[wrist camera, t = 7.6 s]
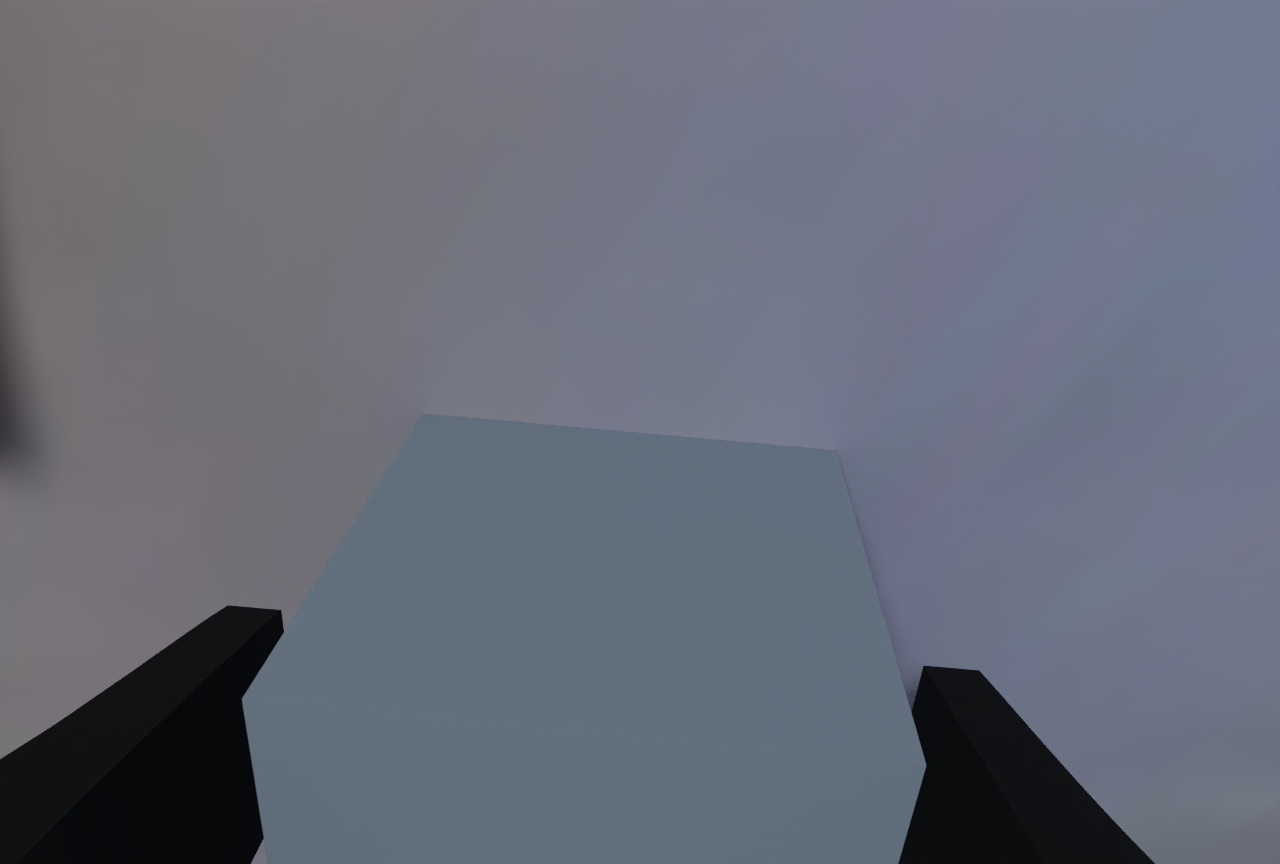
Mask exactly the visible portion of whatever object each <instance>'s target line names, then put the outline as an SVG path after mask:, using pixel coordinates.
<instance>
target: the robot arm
mask: <svg viewBox="0 0 1280 864" xmlns="http://www.w3.org/2000/svg"><path fill="white" fill-rule="evenodd" d="M283 633H284V629H283V621H282V613H281V610H274V609H262V608H251V607H239V606H226V607H225V608H223V609H222V610H220V611H219V612H217V613H215V614H214V615H212V616H211V617H209V618H208V619H206V620H205V621H203V622H202V623H200V624H199V625H198V626H196V627H195V628H193V629H192V630H190V631H189V632H187V633H186V634H185V635H183V636H182V637H180V638H179V639H177V640H176V641H175V642H173V643H172V644H170V645H169V646H168V647H166V648H165V649H163V650H162V651H160V652H159V653H158V654H156V655H155V656H153V657H152V658H151V659H149V660H148V661H146V662H145V663H143V664H142V665H141V666H139V667H138V668H136V669H135V670H133V671H132V672H131V673H129V674H128V675H126V676H125V677H123V678H122V679H121V680H119V681H118V682H116V683H115V684H113V685H112V686H110V687H109V688H107V689H106V690H105V691H103V692H102V693H100V694H99V695H97V696H96V697H94V698H93V699H91V700H90V701H89V702H87V703H86V704H84V705H83V706H81V707H80V708H78V709H77V710H75V711H74V712H73V713H71V714H70V715H68V716H67V717H65V718H64V719H62V720H61V721H59V722H58V723H56V724H55V725H53V726H52V727H50V728H49V729H47V730H46V731H44V732H43V733H41V734H39V735H38V736H36V737H35V738H33V739H32V740H30V741H28V742H27V743H25V744H24V745H22V746H21V747H19V748H17V749H16V750H14V751H13V752H11V753H10V754H8V755H6V756H5V757H3V758H2V759H0V864H251V862H252V860H253V858H254V856H255V854H256V852H257V850H258V848H259V846H260V844H261V842H262V840H263V838H264V836H263V830H262V823H261V817H260V811H259V805H258V798H257V792H256V786H255V779H254V773H253V767H252V760H251V754H250V748H249V741H248V735H247V729H246V722H245V716H244V710H243V704H242V698H243V696H244V695H245V693H246V692H247V690H248V688H249V687H250V685H251V684H252V682H253V681H254V679H255V677H256V676H257V674H258V673H259V671H260V670H261V668H262V666H263V665H264V663H265V662H266V660H267V658H268V657H269V655H270V654H271V652H272V651H273V649H274V647H275V646H276V644H277V643H278V641H279V639H280V638H281V636H282V635H283ZM912 717H913V720H914V724H915V727H916V731H917V734H918V738H919V741H920V745H921V748H922V752H923V755H924V759H925V762H926V769H925V772H924V776H923V779H922V783H921V786H920V790H919V793H918V797H917V800H916V804H915V807H914V811H913V814H912V818H911V821H910V825H909V828H908V832H907V835H906V838H905V842H904V845H903V849H902V852H901V856H900V859H899V863H898V864H1155V863H1154V862H1153V861H1152V860H1151V859H1150V858H1149V857H1148V856H1147V855H1146V854H1145V853H1144V852H1143V851H1142V850H1141V849H1140V848H1139V847H1138V846H1137V845H1136V844H1135V843H1134V842H1133V841H1132V840H1131V839H1130V838H1129V837H1128V835H1127V834H1126V833H1125V832H1124V831H1123V830H1122V829H1121V828H1120V827H1119V826H1118V825H1117V824H1116V823H1115V822H1114V821H1113V820H1112V819H1111V818H1110V816H1109V815H1108V814H1107V813H1106V812H1105V811H1104V810H1103V809H1102V808H1101V807H1100V806H1099V805H1098V804H1097V802H1096V801H1095V800H1094V799H1093V798H1092V797H1091V796H1090V795H1089V794H1088V793H1087V792H1086V791H1085V789H1084V788H1083V787H1082V786H1081V785H1080V784H1079V783H1078V782H1077V781H1076V780H1075V778H1074V777H1073V776H1072V775H1071V774H1070V773H1069V772H1068V771H1067V770H1066V768H1065V767H1064V766H1063V765H1062V764H1061V763H1060V762H1059V761H1058V759H1057V758H1056V757H1055V756H1054V755H1053V754H1052V753H1051V752H1050V750H1049V749H1048V748H1047V747H1046V746H1045V745H1044V744H1043V742H1042V741H1041V740H1040V739H1039V738H1038V737H1037V736H1036V735H1035V733H1034V732H1033V731H1032V730H1031V729H1030V728H1029V727H1028V725H1027V724H1026V723H1025V722H1024V721H1023V720H1022V719H1021V717H1020V716H1019V715H1018V714H1017V713H1016V712H1015V710H1014V709H1013V708H1012V707H1011V706H1010V705H1009V704H1008V702H1007V701H1006V700H1005V699H1004V698H1003V697H1002V696H1001V694H1000V693H999V692H998V691H997V690H996V689H995V688H994V687H993V685H992V684H991V683H990V682H989V681H988V680H987V679H986V678H985V677H984V675H983V674H982V673H981V672H980V671H978V670H967V669H955V668H944V667H932V666H923V670H922V674H921V678H920V682H919V686H918V690H917V694H916V698H915V701H914V705H913V709H912Z"/></svg>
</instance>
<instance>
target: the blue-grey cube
mask: <svg viewBox="0 0 1280 864" xmlns="http://www.w3.org/2000/svg"><path fill="white" fill-rule="evenodd" d="M242 704H243V710H244V716H245V722H246V729H247V735H248V741H249V748H250V754H251V760H252V767H253V773H254V779H255V786H256V792H257V798H258V805H259V811H260V817H261V823H262V830H263V836H264V842H265V849H266V855H267V861H268V864H898V863H899V859H900V856H901V852H902V849H903V845H904V842H905V838H906V835H907V832H908V828H909V825H910V821H911V818H912V814H913V811H914V807H915V804H916V800H917V797H918V793H919V790H920V786H921V783H922V779H923V776H924V772H925V769H926V762H925V759H924V755H923V752H922V748H921V745H920V741H919V738H918V734H917V731H916V727H915V724H914V720H913V717H912V713H911V710H910V706H909V703H908V699H907V696H906V692H905V689H904V685H903V682H902V678H901V675H900V671H899V668H898V664H897V661H896V657H895V654H894V650H893V647H892V643H891V640H890V636H889V633H888V629H887V626H886V622H885V619H884V615H883V612H882V608H881V605H880V601H879V598H878V594H877V591H876V587H875V584H874V581H873V577H872V574H871V570H870V567H869V563H868V560H867V556H866V553H865V549H864V546H863V542H862V539H861V535H860V532H859V528H858V525H857V521H856V518H855V514H854V511H853V507H852V504H851V500H850V497H849V493H848V490H847V486H846V483H845V479H844V476H843V472H842V469H841V465H840V462H839V458H838V455H837V451H836V450H826V449H815V448H804V447H793V446H782V445H771V444H760V443H748V442H737V441H726V440H715V439H704V438H693V437H682V436H670V435H659V434H648V433H637V432H626V431H615V430H604V429H592V428H581V427H570V426H559V425H548V424H537V423H526V422H515V421H503V420H492V419H481V418H470V417H459V416H448V415H437V414H425V413H422V415H421V417H420V418H419V420H418V421H417V423H416V424H415V426H414V428H413V429H412V431H411V432H410V434H409V436H408V437H407V439H406V440H405V442H404V443H403V445H402V447H401V448H400V450H399V451H398V453H397V454H396V456H395V458H394V459H393V461H392V462H391V464H390V466H389V467H388V469H387V470H386V472H385V473H384V475H383V477H382V478H381V480H380V481H379V483H378V485H377V486H376V488H375V489H374V491H373V492H372V494H371V496H370V497H369V499H368V500H367V502H366V503H365V505H364V507H363V508H362V510H361V511H360V513H359V515H358V516H357V518H356V519H355V521H354V522H353V524H352V526H351V527H350V529H349V530H348V532H347V534H346V535H345V537H344V538H343V540H342V541H341V543H340V545H339V546H338V548H337V549H336V551H335V553H334V554H333V556H332V557H331V559H330V560H329V562H328V564H327V565H326V567H325V568H324V570H323V571H322V573H321V575H320V576H319V578H318V579H317V581H316V583H315V584H314V586H313V587H312V589H311V590H310V592H309V594H308V595H307V597H306V598H305V600H304V602H303V603H302V605H301V606H300V608H299V609H298V611H297V613H296V614H295V616H294V617H293V619H292V620H291V622H290V624H289V625H288V627H287V628H286V630H285V632H284V633H283V635H282V636H281V638H280V639H279V641H278V643H277V644H276V646H275V647H274V649H273V651H272V652H271V654H270V655H269V657H268V658H267V660H266V662H265V663H264V665H263V666H262V668H261V670H260V671H259V673H258V674H257V676H256V677H255V679H254V681H253V682H252V684H251V685H250V687H249V688H248V690H247V692H246V693H245V695H244V696H243V698H242Z"/></svg>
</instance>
